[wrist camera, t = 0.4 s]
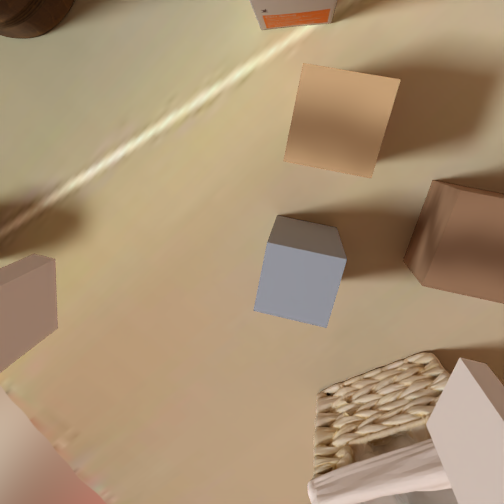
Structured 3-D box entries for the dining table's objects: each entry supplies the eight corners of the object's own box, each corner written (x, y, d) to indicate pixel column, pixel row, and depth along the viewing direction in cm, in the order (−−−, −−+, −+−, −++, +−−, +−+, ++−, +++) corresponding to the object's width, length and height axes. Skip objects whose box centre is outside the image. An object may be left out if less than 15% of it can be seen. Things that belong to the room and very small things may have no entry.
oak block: (304, 83, 29) (303, 63, 20) (373, 95, 28) (400, 79, 20) (289, 154, 31) (283, 161, 23) (353, 166, 30) (371, 178, 22)
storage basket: (301, 383, 40) (299, 515, 26) (437, 330, 35) (523, 459, 21) (389, 514, 44) (427, 685, 31) (520, 485, 40) (633, 672, 26)
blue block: (277, 215, 33) (267, 242, 25) (336, 227, 33) (346, 259, 24) (266, 269, 35) (253, 310, 27) (321, 281, 35) (326, 327, 26)
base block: (432, 180, 30) (460, 190, 24) (523, 197, 29) (575, 212, 24) (402, 260, 33) (422, 285, 27) (485, 277, 32) (523, 307, 27)
